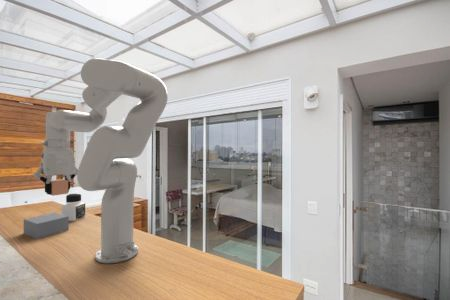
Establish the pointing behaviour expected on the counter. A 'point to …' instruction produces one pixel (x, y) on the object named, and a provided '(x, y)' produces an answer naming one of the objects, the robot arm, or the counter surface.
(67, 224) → the grey block
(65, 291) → the counter surface
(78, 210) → the medicine bottle
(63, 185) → the terracotta cube
